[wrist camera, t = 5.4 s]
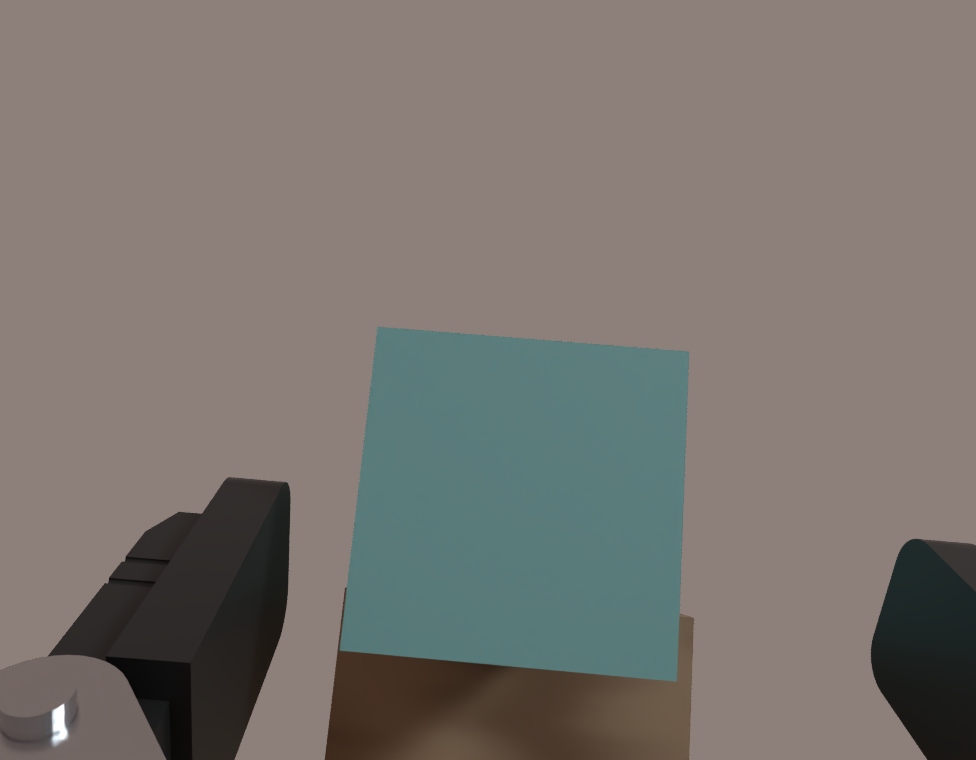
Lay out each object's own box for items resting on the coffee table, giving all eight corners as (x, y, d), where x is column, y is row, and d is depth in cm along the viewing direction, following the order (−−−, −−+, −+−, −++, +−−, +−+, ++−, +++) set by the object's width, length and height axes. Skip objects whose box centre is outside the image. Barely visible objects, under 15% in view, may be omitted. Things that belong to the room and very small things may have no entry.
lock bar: (542, 581, 34) (549, 496, 34) (676, 681, 8) (689, 351, 9) (459, 573, 34) (467, 489, 35) (339, 650, 8) (377, 326, 9)
